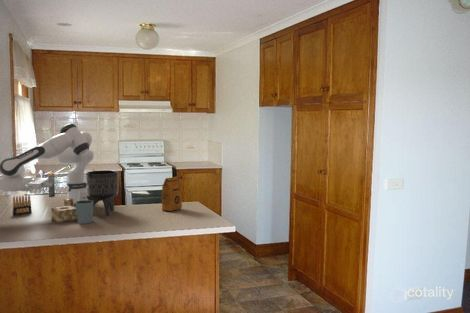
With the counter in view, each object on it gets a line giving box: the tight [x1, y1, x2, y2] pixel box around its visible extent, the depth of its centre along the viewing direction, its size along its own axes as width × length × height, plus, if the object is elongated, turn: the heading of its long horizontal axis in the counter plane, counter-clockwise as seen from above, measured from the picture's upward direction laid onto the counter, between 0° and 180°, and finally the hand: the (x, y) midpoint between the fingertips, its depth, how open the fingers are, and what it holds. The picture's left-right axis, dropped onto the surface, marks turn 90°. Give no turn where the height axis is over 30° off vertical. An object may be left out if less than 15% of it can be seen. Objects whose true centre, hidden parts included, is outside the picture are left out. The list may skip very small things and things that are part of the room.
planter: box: [85, 169, 120, 217], centre depth 271 cm, size 20×20×26 cm
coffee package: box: [161, 176, 183, 212], centre depth 282 cm, size 10×12×22 cm
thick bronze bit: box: [63, 198, 75, 207], centre depth 267 cm, size 6×6×10 cm
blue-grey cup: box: [74, 200, 94, 224], centre depth 250 cm, size 10×10×12 cm
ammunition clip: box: [12, 194, 33, 216], centre depth 269 cm, size 11×2×12 cm, turn 130°
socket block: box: [50, 205, 77, 224], centre depth 255 cm, size 11×11×7 cm
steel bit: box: [47, 172, 56, 198], centre depth 259 cm, size 4×4×14 cm
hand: (53, 183), depth 259 cm, fingers closed on steel bit, 3 cm apart
